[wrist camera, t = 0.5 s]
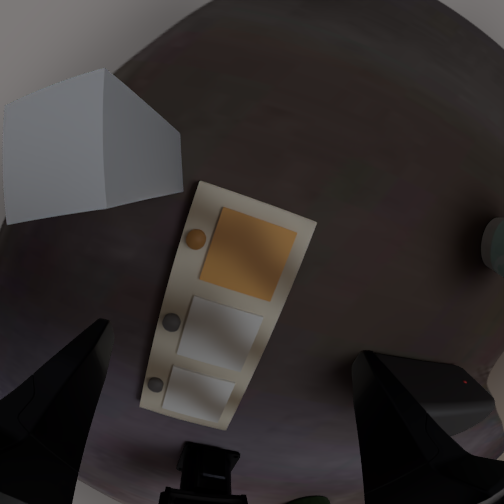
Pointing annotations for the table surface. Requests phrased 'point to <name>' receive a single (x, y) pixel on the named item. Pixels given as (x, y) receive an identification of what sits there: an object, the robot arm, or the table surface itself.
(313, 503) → the wine bottle
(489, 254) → the coffee cup
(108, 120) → the block
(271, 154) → the table surface
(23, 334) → the table surface
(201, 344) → the switch board
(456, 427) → the leaning round-cornered charcoal block
